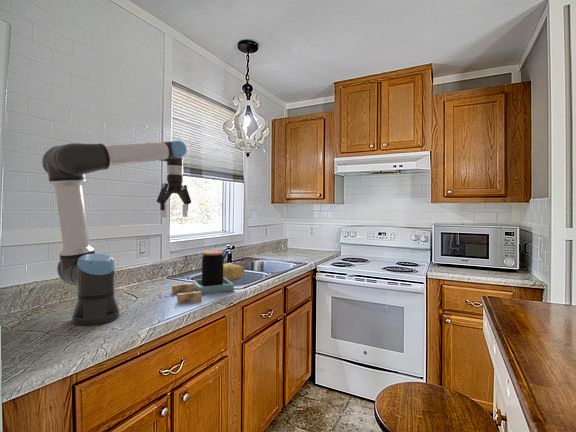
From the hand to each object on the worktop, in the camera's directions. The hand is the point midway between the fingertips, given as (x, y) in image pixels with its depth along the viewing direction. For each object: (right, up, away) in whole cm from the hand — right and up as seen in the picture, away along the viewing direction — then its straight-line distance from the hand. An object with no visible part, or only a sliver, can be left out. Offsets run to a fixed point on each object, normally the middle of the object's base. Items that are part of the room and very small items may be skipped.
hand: (174, 217), depth 162 cm
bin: (+18, -37, +4) cm, 41 cm away
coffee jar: (+18, -36, +4) cm, 41 cm away
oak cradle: (+9, -37, -12) cm, 40 cm away
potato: (+24, -37, +23) cm, 49 cm away
